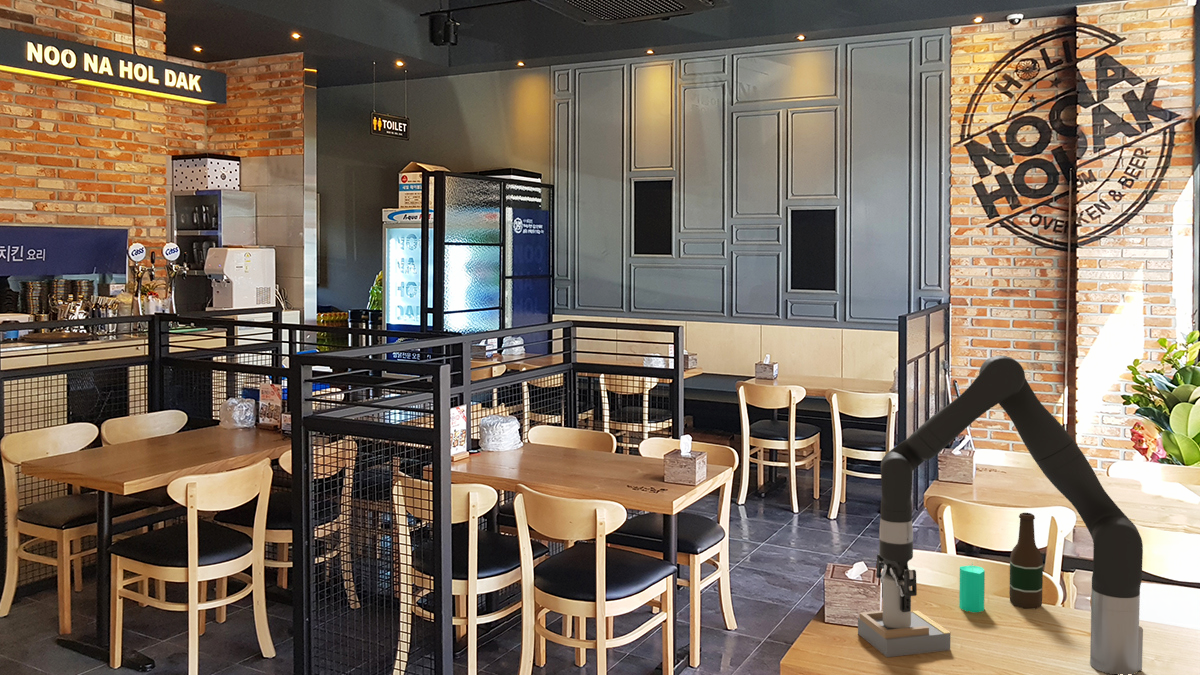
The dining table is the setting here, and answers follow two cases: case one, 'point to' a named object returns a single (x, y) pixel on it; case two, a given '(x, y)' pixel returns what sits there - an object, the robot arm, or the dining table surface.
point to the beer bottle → (1026, 567)
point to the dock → (903, 635)
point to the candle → (972, 588)
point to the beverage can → (893, 606)
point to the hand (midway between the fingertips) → (895, 605)
